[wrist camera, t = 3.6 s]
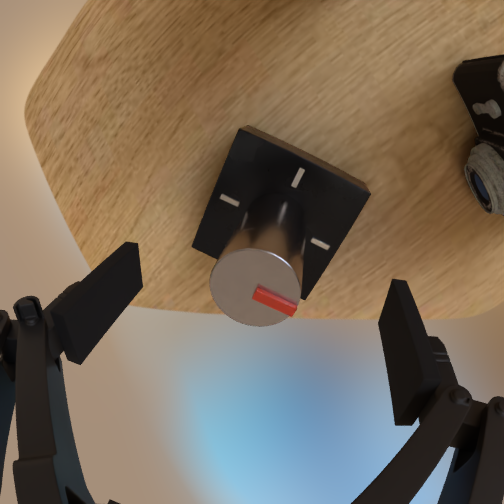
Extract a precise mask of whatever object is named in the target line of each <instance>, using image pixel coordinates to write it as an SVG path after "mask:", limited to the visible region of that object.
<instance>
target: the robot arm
mask: <svg viewBox="0 0 504 504" xmlns="http://www.w3.org/2000/svg"><path fill="white" fill-rule="evenodd" d="M142 288H143V283H142V275H141V266H140V257H139V248H138V243H132V242H125V243H124V244H123V245H121V246H120V247H119V248H118V249H117V250H116V251H114V252H113V253H112V254H111V255H110V256H109V257H108V258H106V259H105V260H104V261H103V262H102V263H101V264H100V265H99V266H97V267H96V268H95V269H94V270H93V271H92V272H91V273H90V274H89V275H87V276H86V277H85V278H84V279H83V280H82V281H81V282H79V281H78V282H76V283H74V284H72V285H70V286H68V287H67V288H66V289H65V290H64V291H63V293H61V294H60V295H59V296H58V298H56V299H54V301H52V302H51V303H50V304H49V305H48V306H47V307H46V308H45V309H44V310H42V307H41V304H40V301H39V299H38V298H37V297H35V296H26V297H23V298H21V299H19V300H18V301H17V302H16V303H15V304H14V306H13V309H14V312H15V314H16V317H17V320H10V318H9V316H8V313H7V312H6V311H5V310H0V355H1V357H0V493H1V486H2V477H3V468H4V460H5V454H6V447H7V441H8V435H9V430H10V424H11V420H12V415H13V410H14V406H15V402H16V426H17V440H18V451H19V459H18V460H16V461H14V462H13V475H14V482H15V489H16V495H17V501H18V504H95V502H94V500H93V498H92V497H91V495H90V493H89V491H88V489H87V486H86V484H85V480H84V477H83V473H82V469H81V465H80V462H79V458H78V453H77V449H76V445H75V440H74V436H73V432H72V426H71V421H70V416H69V410H68V404H67V398H66V391H65V384H64V377H63V369H62V361H61V358H60V354H61V353H62V352H63V351H64V352H65V355H66V357H67V359H68V360H69V361H71V362H74V363H76V364H79V365H81V364H82V363H83V361H84V360H85V359H86V357H87V356H88V355H89V353H90V352H91V351H92V349H93V348H94V347H95V346H96V345H97V343H98V342H99V341H100V339H101V338H102V337H103V335H104V334H105V333H106V332H107V331H108V329H109V328H110V327H111V326H112V324H113V323H114V322H115V320H116V319H117V318H118V317H119V316H120V314H121V313H122V312H123V311H124V309H125V308H126V307H127V306H128V305H129V303H130V302H131V301H132V300H133V298H134V297H135V296H136V295H137V294H138V292H139V291H140V290H141V289H142ZM378 325H379V330H380V335H381V340H382V346H383V351H384V356H385V362H386V367H387V373H388V380H389V386H390V392H391V398H392V405H393V413H394V421H395V425H396V426H404V425H405V426H412V425H413V424H414V422H415V421H416V419H417V418H419V423H420V425H419V427H418V428H417V429H416V431H415V432H414V433H413V435H412V436H411V437H410V439H409V440H408V441H407V442H406V443H405V445H404V446H403V447H402V448H401V450H400V451H399V452H398V453H397V454H396V456H395V457H394V458H393V459H392V460H391V462H390V463H389V464H388V465H387V466H386V467H385V468H384V470H383V471H382V472H381V473H380V474H379V475H378V476H377V477H376V478H375V479H374V480H373V482H372V483H371V484H370V485H369V486H368V487H367V488H366V489H365V490H364V491H363V492H362V493H361V494H360V495H359V496H358V497H357V498H356V499H355V500H354V501H353V502H352V503H351V504H409V503H410V501H411V500H412V499H413V498H414V496H415V495H416V494H417V492H418V491H419V490H420V488H421V487H422V486H423V484H424V483H425V481H426V480H427V478H428V477H429V476H430V474H431V473H432V471H433V470H434V468H435V467H436V466H437V464H438V463H439V461H440V459H441V458H442V456H443V455H444V453H445V452H446V450H447V448H448V447H449V446H450V447H454V448H455V451H454V455H453V458H452V462H451V465H450V468H449V472H448V475H447V478H446V481H445V484H444V486H443V489H442V492H441V495H440V498H439V501H438V503H437V504H502V500H503V496H504V398H503V397H500V396H497V397H493V398H492V399H491V400H490V401H489V403H488V404H486V403H482V402H479V401H475V400H473V399H472V396H471V394H470V393H469V391H468V390H467V389H465V388H464V387H462V386H460V385H458V382H457V379H456V376H455V373H454V370H453V367H452V364H451V362H450V359H449V356H448V355H447V351H446V348H445V346H444V344H443V343H442V342H441V341H440V339H439V338H438V337H432V336H428V335H427V333H426V330H425V327H424V324H423V322H422V319H421V316H420V314H419V311H418V309H417V306H416V303H415V301H414V298H413V296H412V294H411V291H410V289H409V286H408V284H407V281H405V280H398V279H392V281H391V285H390V288H389V291H388V294H387V297H386V301H385V304H384V307H383V310H382V313H381V316H380V319H379V322H378ZM108 504H119V503H117V502H115V501H112V500H109V502H108Z"/></svg>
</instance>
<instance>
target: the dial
mask: <svg viewBox="0 0 504 504" xmlns="http://www.w3.org/2000/svg"><path fill="white" fill-rule="evenodd" d="M306 223H307V221H306V215H305V212H304V210H303V208H302V206H301V205H300V204H299V203H298V202H297V201H296V200H295V199H294V198H292V197H291V196H289V195H286V194H283V193H278V192H271V193H266V194H263V195H260V196H259V197H257V198H256V199H254V200H253V201H252V202H251V204H250V205H249V207H248V208H247V210H246V212H245V214H244V215H243V217H242V219H241V220H240V222H239V224H238V226H237V227H236V229H235V231H234V232H233V234H232V236H231V238H230V239H229V241H228V243H227V244H226V246H225V248H224V250H223V251H222V253H221V255H220V257H219V258H218V260H217V262H216V264H215V265H214V267H213V269H212V272H211V274H210V291H211V294H212V297H213V299H214V301H215V303H216V304H217V306H218V307H219V308H220V309H221V310H222V311H223V312H224V313H225V314H226V315H227V316H229V317H230V318H232V319H233V320H235V321H237V322H240V323H242V324H246V325H250V326H269V325H274V324H277V323H279V322H281V321H283V320H285V319H286V318H288V317H289V316H291V317H292V316H293V314H294V313H295V311H296V310H297V306H298V304H299V301H300V297H301V289H302V277H303V265H304V253H305V239H306Z"/></svg>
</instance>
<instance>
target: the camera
mask: <svg viewBox="0 0 504 504" xmlns="http://www.w3.org/2000/svg"><path fill="white" fill-rule="evenodd" d="M452 81H453V83H454V85H455V87H456V89H457V90H458V92H459V94H460V96H461V98H462V100H463V102H464V104H465V107H466V109H467V111H468V113H469V115H470V118H471V120H472V122H473V124H474V127H475V129H476V131H477V134H478V136H477V137H476V138H475V144H476V146H475V147H474V148H472V149H471V152H470V157H469V158H468V163H467V164H466V165H465V168H464V170H465V176H466V179H467V182H468V184H469V187H470V189H471V191H472V193H473V195H474V196H475V198H476V200H477V201H478V203H479V204H480V206H481V207H482V208H483V209H484V210H485V211H486V212H487V213H489V214H491V213H495V214H502V215H503V216H504V55H496V56H490V57H483V58H477V59H471V60H465V61H463V62H462V64H460V65H459V66H458V67H456V69H455V71H454V73H453V79H452Z"/></svg>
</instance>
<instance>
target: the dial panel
mask: <svg viewBox="0 0 504 504" xmlns="http://www.w3.org/2000/svg"><path fill="white" fill-rule="evenodd" d="M271 192H278V193H283V194H286V195H289V196H291V197H292V198H294V199H295V200H296V201H297V202H298V203H299V204H300V205H301V206H302V208H303V210H304V212H305V215H306V221H307V223H306V239H305V253H304V265H303V277H302V289H301V297H300V298H301V299H303V300H306V298H307V297H308V295H309V294H310V292H311V291H312V289H313V288H314V286H315V284H316V283H317V281H318V280H319V278H320V277H321V275H322V274H323V272H324V271H325V269H326V267H327V266H328V264H329V263H330V261H331V259H332V258H333V256H334V255H335V253H336V251H337V250H338V248H339V247H340V245H341V243H342V242H343V240H344V239H345V237H346V235H347V234H348V232H349V230H350V229H351V227H352V225H353V224H354V222H355V220H356V219H357V217H358V215H359V214H360V212H361V210H362V209H363V207H364V205H365V203H366V202H367V200H368V198H369V197H370V195H371V193H370V191H369V190H368V188H367V186H366V184H365V183H364V182H362V181H360V180H358V179H357V178H355V177H353V176H351V175H349V174H347V173H346V172H344V171H342V170H340V169H338V168H336V167H334V166H332V165H330V164H329V163H327V162H325V161H323V160H321V159H319V158H317V157H315V156H313V155H311V154H309V153H307V152H305V151H303V150H301V149H299V148H297V147H295V146H292V145H290V144H288V143H286V142H284V141H282V140H280V139H278V138H275V137H273V136H271V135H269V134H267V133H265V132H262V131H260V130H258V129H256V128H253V127H251V126H249V125H247V126H244V127H242V128H239V130H238V132H237V135H236V137H235V139H234V141H233V144H232V146H231V149H230V151H229V153H228V156H227V158H226V160H225V163H224V165H223V168H222V170H221V173H220V175H219V177H218V180H217V182H216V185H215V187H214V190H213V192H212V195H211V197H210V200H209V202H208V205H207V207H206V210H205V212H204V215H203V218H202V220H201V223H200V225H199V228H198V231H197V233H196V236H195V239H194V241H193V244H192V247H193V248H195V249H197V250H199V251H201V252H203V253H205V254H207V255H209V256H211V257H213V258H216V259H218V258H219V257H220V255H221V253H222V251H223V250H224V248H225V246H226V244H227V243H228V241H229V239H230V238H231V236H232V234H233V232H234V231H235V229H236V227H237V226H238V224H239V222H240V220H241V219H242V217H243V215H244V214H245V212H246V210H247V208H248V207H249V205H250V204H251V202H252V201H253V200H254V199H256V198H257V197H259V196H260V195H263V194H266V193H271Z"/></svg>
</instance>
